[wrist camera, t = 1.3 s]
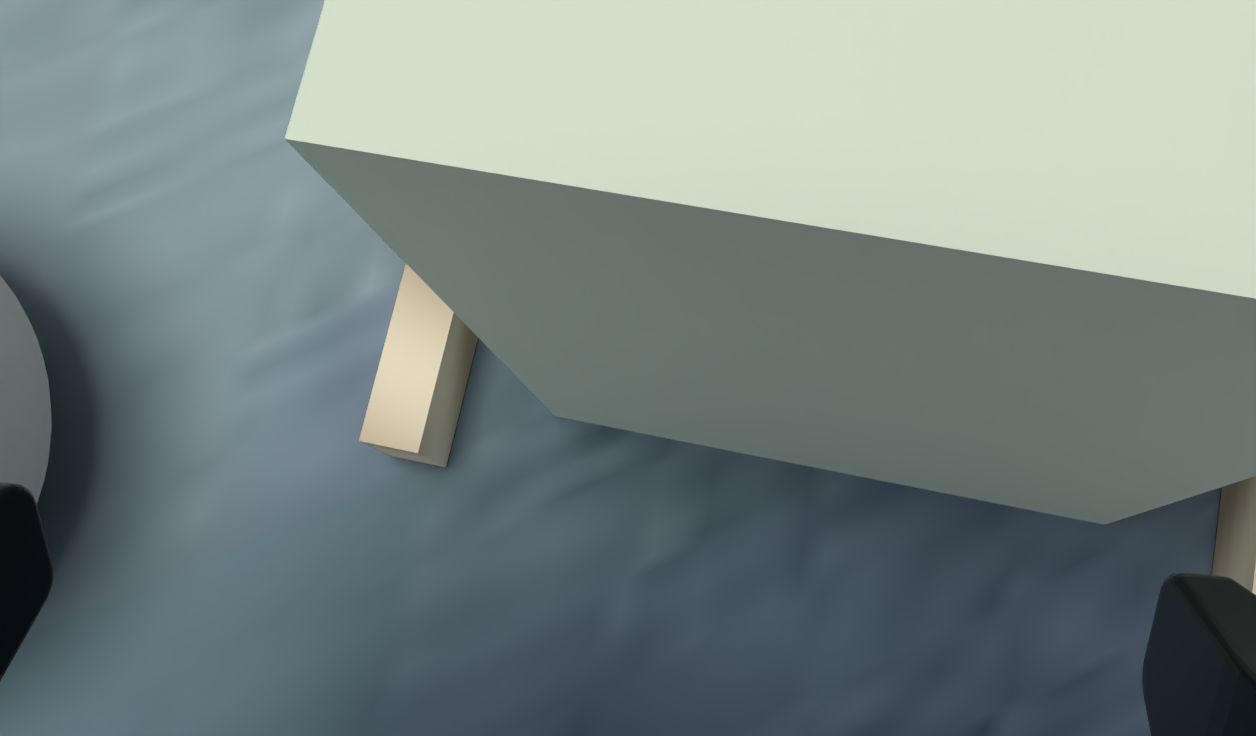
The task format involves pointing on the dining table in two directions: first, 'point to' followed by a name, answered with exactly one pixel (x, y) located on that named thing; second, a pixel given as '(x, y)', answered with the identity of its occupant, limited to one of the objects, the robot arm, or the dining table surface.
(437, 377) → the guide chute
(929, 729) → the dining table surface
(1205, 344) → the sage block
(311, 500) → the dining table surface
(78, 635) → the dining table surface
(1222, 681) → the robot arm
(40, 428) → the teacup
